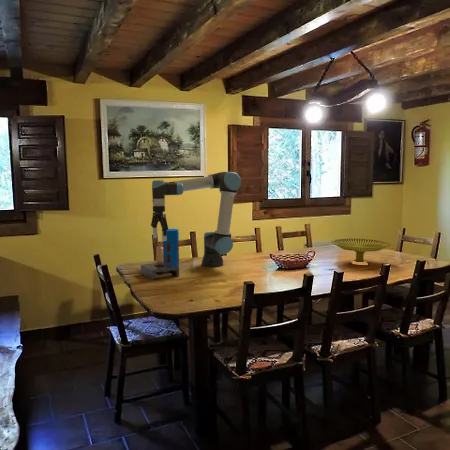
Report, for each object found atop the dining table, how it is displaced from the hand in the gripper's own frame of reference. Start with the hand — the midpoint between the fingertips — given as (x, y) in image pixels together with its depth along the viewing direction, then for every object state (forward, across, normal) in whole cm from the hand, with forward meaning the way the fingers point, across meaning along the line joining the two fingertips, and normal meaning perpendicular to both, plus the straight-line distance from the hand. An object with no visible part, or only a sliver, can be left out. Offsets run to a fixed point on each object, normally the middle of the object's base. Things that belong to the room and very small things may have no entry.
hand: (159, 239), depth 276 cm
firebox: (+23, 0, 0) cm, 23 cm away
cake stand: (+24, +43, +133) cm, 142 cm away
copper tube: (+23, 0, 0) cm, 23 cm away
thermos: (+23, -21, +18) cm, 36 cm away
